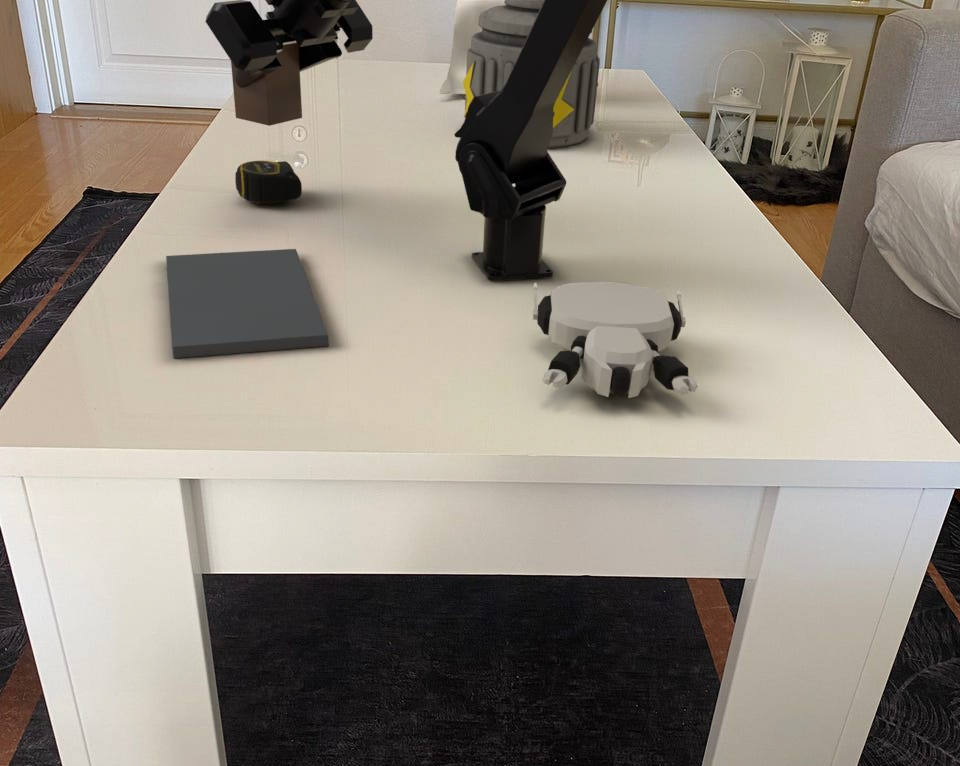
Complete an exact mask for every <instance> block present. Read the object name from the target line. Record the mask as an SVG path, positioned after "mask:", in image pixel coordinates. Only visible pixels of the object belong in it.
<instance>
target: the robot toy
mask: <svg viewBox="0 0 960 766" xmlns="http://www.w3.org/2000/svg"><path fill="white" fill-rule="evenodd" d="M675 295H676V299H677V303H678V308H677V307H676V305H675V303H674V302H672V301H669V300H668V297H667V295H666V294H665V293H663V292H661V291H658V290H656V289H653V288H651V287H647V286H641V285H635V284H629V283H623V282H622V283H621V282H613V281H581V282H572V283H571V282H570V283H564V284H562V285H560V286H558V287H557V286H556V287H555V288H553V289H552V290H551V293H550V294H549V295H545V296H543V298H542V300H540V302H539V303H538V299H537V298H538V283H537V282H534V283H533V311H532V320H534V321H535V320H536V322H537V323H536V324H537V325H538V326H539V329H541V331H542V333H543V335H546V336H549V339H550V342H551V343H553V344H554V345H555V346H557V347H560V348H562V349H564V350H560V351H559V352H558V353H556V355H555V356H554V357H553V358H552V359H551V360H550V363H549V366H548V367H547V368H548V369H547V370H545V372H544V373H543V375H542V382H543V384H545V385H548V386H550V385H551V384H552V387H555V388H559V389H561V388H562V387H564V386H565V385H569V384H571V382H572V381H573V380H574V379H575V377H576V376H577V375H578V373H579V371H580V368H581V360H583V361H582V368H581V378H582V380H583V381H584V383H585V384H586V385H587V386H588V387H589V390H591V391H593V392H595V393H596V394H597V395H600V396H603V397H607V398H609V395H611V394H612V395H613V396H615V397H624V396H626V395H628V398H627V399H630V398H631V399H632V398H634V397H638V396H639V394H640V393H641V391H642V390H643V389H644V388H645V387H647V386H648V384H649V381H650V376H651V370H652V367H653V375H654V379H655V380H656V381H657V382H659V383H660V384H661V385H662V386H663V387H664V388H665V389H666V390H669V391H674V392H676V393H677V394H679V395H683V394H684V395H686V394H689V392H690V393H693V392H696V390H697V389H698V384H697V381H696V379H695V378H694V377H691V376H689V367H688V366H687V365H686V364H684V363H683V361H681V360H680V359H679V358H678V357H677V356H672V355H663V354H662V355H660V353H659V352H661V351H663V350H665V349H667V348H668V346H669V344H670V343H671V342H672V341H673V342H674V341H675V340H677V339H678V337H679V335H680V333H681V330H682V328H685V327H686V323H687V322H686V321H687V320H686V317H685V316H684V311H683V303H682V291H681V290H680V289H678V290H677V291H676V294H675Z"/></svg>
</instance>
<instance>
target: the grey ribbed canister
mask: <svg viewBox="0 0 960 766" xmlns="http://www.w3.org/2000/svg"><path fill="white" fill-rule="evenodd" d="M543 2H544V0H505V2H504V3H505V4H506V5H501V6H495V7H491V8H489V9H487V10H485V11H483V12H481V14H480V15H479V22H478V25H479V26H480V27H481V28H482V32H478V33H475V34H474V35H473V36H472V38H471V49H468V51H467V67H466V77H465V79H464V81H463V85H464V89H465V93H466V94H464V95H465V96H464V99H465V100H464V102H465V103H464V115H463V118H464V119H465V118H466V114H467V111H468V107H469V105H470V103H471V101H472V99H473V97H475V96H479V95H483V94H487V93H491V92H495V91H499V90H501V89H502V88H503V87H504V85H505V84H506V82H507V79H508V77H509V75H510V73H511V71H512V69H513V66H514V64H515V62H516V60H517V58H518V56H519V53H520V51H521V49H522V47H523V45H524V43H525V41H526V38H527V36H528V34H529V32H530V30H531V28H532V25H533V23H534V21H535V19H536V17H537V15H538V13H539V10H540V8H541V6H542V4H543ZM592 33H593V30H592V31H591V33H590V34H592ZM600 63H601V60H600V57H599V55H598V43H597V42H596V40H594V39H592V38H590V37H588V39H587V41H586V43H585V45H584V47H583V49H582V51H581V53H580V55H579V57H578V59H577V61H576V63H575V65H574V67H573V69H572V70H571V72H570V74H569V76H568V78H567V80H566V82H565V84H564V86H563V88H562V90H561V92H560V94H559V96H558V98H557V100H556V102H555V105H554V108H553V135H552V138H551V141H550V144H549V147H548V149H555V148H565V147H570V146H573V145H577V144H580V143H581V142H583V141H584V140H586V139H587V138H588V137H589V131H590V129H591V127H592V125H594V121H595V112H596V103H597V92H598V86H599V85H600V84H599V74H600V73H599V72H600Z"/></svg>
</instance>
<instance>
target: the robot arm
mask: <svg viewBox="0 0 960 766" xmlns="http://www.w3.org/2000/svg"><path fill="white" fill-rule="evenodd" d="M264 1H265V2H266V4H267V6H272V7H273V11H272V10H271V11H266V12H265V14H264V16H265V17H266V19H263V18H262V16H261V15H260V13H259V12H258V10H257V8H256V7H255V6H254V4H253V2H252V1H251V0H228V1H226V0H225V1H217V2H214V3H213V5H212V6H211V8H210V10H209V11H208V13H207V15H206V17H205V24H206V25H207V26H208V28H209V29H210V31H211V32H212V34H213V35H214V37H215V39H216V40H217V42H218V43H219V44H220V46H221V48H222V49H223V51H224V52H225V54H226V55H227V57H228V58H229V60H230V62H231V61H232V63H233V64H234V66H235V67H236V74H235V81H236V83H237V85H238V86H239V87H240V88H243V87H245V86H247V85H249V84H251V83H253V82H255V81H257V80H259V79H260V78H262V77H264V76H266V75H268V74H269V73H271V72H273V71H275V70H277V69H279V68H280V67H282V65H281V64H280V62H279V61H278V59H277V58H276V56H277V53H278V52H281V51H282V49H283V45H286V44H292V43H297V44H298V47H299V66H300V73H301V72H304V71H306V70H308V69H311V68H313V67H316V66H318V65H322V64H324V63H326V62H329V61H331V60H334V59H337V58H340V57H341V56H342V55H343V50H342V49H341V47H340V46H339V45H338V42H337V41H338V40H339V36H338V35H339V33H340V32H341V30H342V32H343V33H344V35H346V38H347V39H346V41H344V43H343V47H344V50H345V51H346V53H348V54H350V53H355V52H361V51H364V50H365V49H366V48H367V46H368V45H369V44H370V43H371V41H372V40H373V37H374V35H373V24H372V22H371V20H370V19H369V18H368V17H367V15H366V14H365V12H364V10H363V9H362V8H361V5H360V4H359V2H357V0H264ZM607 2H608V0H544V2H543V4H542V6H541V8H540V10H539V13H538V15H537V17H536V19H535V21H534V23H533V25H532V28H531V30H530V32H529V34H528V36H527V38H526V41H525V43H524V45H523V47H522V49H521V51H520V53H519V56H518V58H517V60H516V62H515V64H514V66H513V69H512V71H511V73H510V75H509V77H508V79H507V82H506V84H505V85H504V87H503V88H502V89H501V90H499V91H495V92H491V93H487V94H483V95H479V96H475V97H473V99H472V101H471V103H470V105H469V107H468V111H467V114H466V118H465V117H464V121H463V123H462V124H461V126H460V128H459V129H458V130H456V132H455V133H454V137H455V138H458V139H459V140H458V142H457V144H456V147H455V156H454V159H455V161H456V162H457V165H458V170H459V172H460V174H461V178H462V181H463V186H464V190H465V194H466V198H467V201H468V205H469V206H468V207H469V210H470V211H472V212H475V213H479V214H480V215H482V216H483V217H484V225H483V243H482V245H483V247H482V251H475V252H472V253H471V260H472V261H473V262H474V263H475V264H476V266H477V267H478V268H479V270H480V271H481V272H482V274H483V275H484V276H485V277H486V279H487V280H489V281H492V282H493V281H494V282H495V281H506V280H507V281H509V280H524V279H525V280H526V279H538V278H551V277H553V276H554V270H553V269H552V267H550V266H549V265H548V264H547V262H545V260H543V248H544V238H545V237H544V236H545V226H546V225H545V224H546V213H547V206H546V205H548V204H551V203H553V202H558V201H559V200H560V199H561V197H562V195H563V192H564V190H565V188H566V186H567V179H566V177H564V175H563V173H562V172H561V170H560V168H559V167H558V166H557V164H556V162H555V161H554V160H553V158H552V157H551V155H550V154H549V152H548V149H549V148H548V147H549V144H550V141H551V138H552V135H553V108H554V105H555V102H556V100H557V98H558V96H559V94H560V92H561V90H562V88H563V86H564V84H565V82H566V80H567V78H568V76H569V74H570V72H571V70H572V69H573V67H574V65H575V63H576V61H577V59H578V57H579V55H580V53H581V51H582V49H583V47H584V45H585V43H586V41H587V39H588V38H590V35H591V34H592V33H591V31H592V32H593V29H594V27H595V25H596V23H597V22H598V20H599V17H600V15H601V13H602V12H603V10H604V8H605V6H606V4H607ZM514 185H515V186H514Z"/></svg>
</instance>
